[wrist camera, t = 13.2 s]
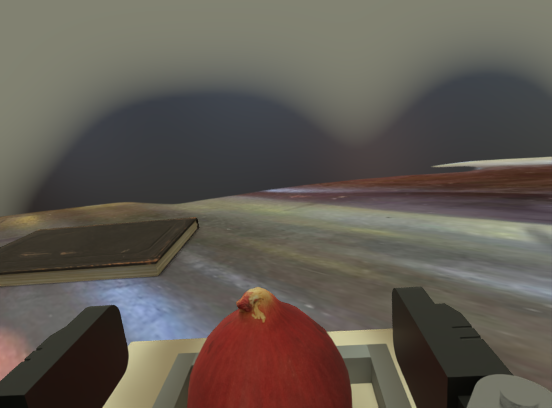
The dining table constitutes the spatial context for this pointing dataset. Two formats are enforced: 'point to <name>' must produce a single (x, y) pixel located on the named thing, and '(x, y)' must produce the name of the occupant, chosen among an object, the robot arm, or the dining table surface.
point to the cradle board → (183, 353)
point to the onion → (269, 360)
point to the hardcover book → (94, 252)
